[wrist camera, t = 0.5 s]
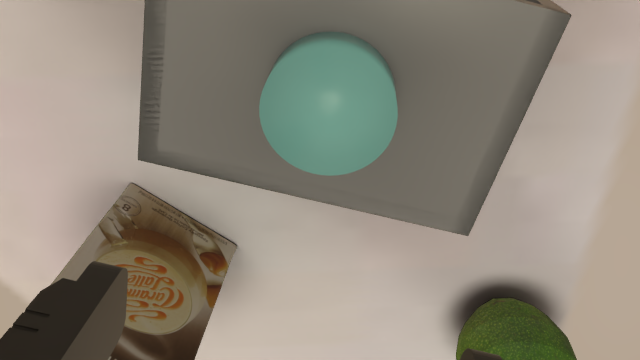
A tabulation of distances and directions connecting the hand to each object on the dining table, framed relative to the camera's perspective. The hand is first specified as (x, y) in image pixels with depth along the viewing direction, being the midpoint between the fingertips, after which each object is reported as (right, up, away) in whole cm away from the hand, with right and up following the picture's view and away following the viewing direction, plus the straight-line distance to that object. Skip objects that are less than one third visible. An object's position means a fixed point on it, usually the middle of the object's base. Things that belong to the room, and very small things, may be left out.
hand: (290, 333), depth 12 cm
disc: (+1, +8, +12) cm, 15 cm away
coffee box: (-11, -1, +27) cm, 29 cm away
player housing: (+2, +11, +18) cm, 22 cm away
